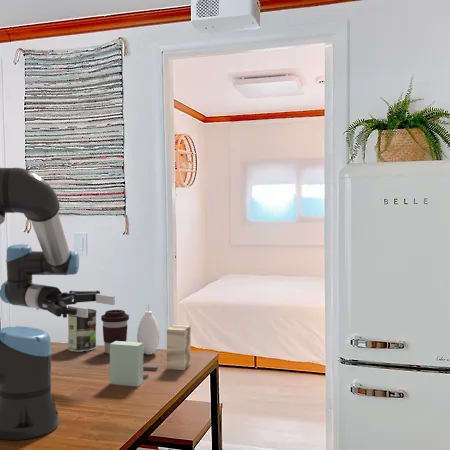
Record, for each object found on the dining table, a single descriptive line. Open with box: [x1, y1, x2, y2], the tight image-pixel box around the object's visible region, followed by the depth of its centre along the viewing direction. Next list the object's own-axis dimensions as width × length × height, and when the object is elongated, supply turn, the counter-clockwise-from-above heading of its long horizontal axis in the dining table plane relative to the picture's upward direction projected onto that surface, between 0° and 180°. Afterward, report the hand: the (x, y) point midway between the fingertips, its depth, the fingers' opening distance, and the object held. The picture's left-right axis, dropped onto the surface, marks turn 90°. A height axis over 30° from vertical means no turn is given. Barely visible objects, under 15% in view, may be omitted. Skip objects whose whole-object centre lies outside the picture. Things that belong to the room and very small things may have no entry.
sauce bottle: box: [136, 303, 161, 355], centre depth 195 cm, size 8×8×18 cm
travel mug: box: [100, 309, 130, 355], centre depth 197 cm, size 10×10×15 cm
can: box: [67, 308, 97, 353], centre depth 202 cm, size 10×10×14 cm
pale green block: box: [109, 341, 144, 387], centre depth 162 cm, size 4×9×12 cm, turn 77°
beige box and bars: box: [143, 324, 192, 380], centre depth 175 cm, size 18×18×13 cm
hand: (101, 306), depth 162 cm, fingers open, 13 cm apart
